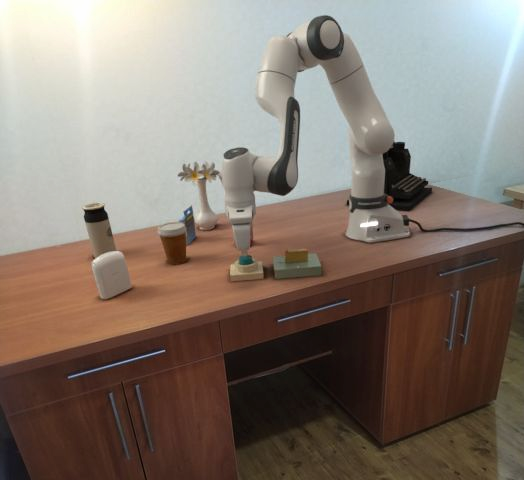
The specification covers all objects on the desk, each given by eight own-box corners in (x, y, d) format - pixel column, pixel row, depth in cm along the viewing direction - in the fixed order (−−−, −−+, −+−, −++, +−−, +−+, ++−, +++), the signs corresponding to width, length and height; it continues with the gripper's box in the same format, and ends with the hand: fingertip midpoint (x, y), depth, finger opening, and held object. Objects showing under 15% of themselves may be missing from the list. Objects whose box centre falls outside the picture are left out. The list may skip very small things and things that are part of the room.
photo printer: (105, 301, 140) (95, 260, 133) (97, 297, 142) (86, 258, 136) (134, 288, 146) (125, 249, 140) (126, 285, 149) (117, 246, 142)
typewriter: (408, 211, 194) (414, 144, 181) (346, 205, 207) (348, 142, 194) (431, 192, 215) (438, 131, 202) (374, 188, 229) (377, 130, 216)
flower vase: (234, 228, 190) (228, 161, 177) (188, 235, 186) (178, 168, 173) (227, 219, 201) (220, 156, 188) (183, 226, 197) (173, 162, 184)
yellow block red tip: (307, 259, 149) (307, 247, 147) (307, 261, 147) (307, 249, 145) (284, 261, 149) (284, 249, 147) (285, 263, 147) (284, 251, 145)
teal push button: (252, 260, 149) (251, 254, 148) (252, 265, 146) (252, 259, 145) (239, 261, 149) (238, 255, 148) (239, 266, 146) (238, 260, 145)
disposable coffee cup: (168, 268, 159) (161, 232, 152) (159, 259, 166) (153, 225, 160) (195, 261, 162) (190, 226, 156) (185, 253, 169) (180, 219, 163)
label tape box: (186, 237, 185) (182, 204, 179) (196, 237, 184) (192, 204, 178) (179, 244, 178) (173, 211, 171) (189, 245, 177) (184, 211, 170)
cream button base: (262, 267, 153) (261, 255, 151) (263, 278, 146) (262, 266, 144) (231, 270, 153) (229, 258, 151) (230, 281, 146) (229, 269, 144)
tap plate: (321, 275, 145) (321, 265, 143) (275, 279, 145) (274, 269, 143) (316, 261, 154) (316, 252, 153) (273, 265, 154) (272, 256, 153)
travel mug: (89, 258, 171) (76, 208, 162) (103, 251, 178) (91, 201, 168) (108, 260, 169) (95, 209, 159) (121, 252, 175) (109, 202, 165)
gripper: (230, 200, 148) (234, 244, 155) (229, 220, 130) (234, 268, 138) (250, 199, 148) (253, 242, 155) (252, 218, 131) (256, 266, 138)
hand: (244, 254), depth 146 cm, fingers closed
